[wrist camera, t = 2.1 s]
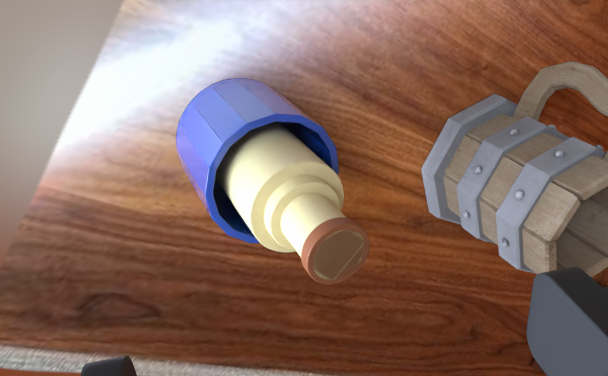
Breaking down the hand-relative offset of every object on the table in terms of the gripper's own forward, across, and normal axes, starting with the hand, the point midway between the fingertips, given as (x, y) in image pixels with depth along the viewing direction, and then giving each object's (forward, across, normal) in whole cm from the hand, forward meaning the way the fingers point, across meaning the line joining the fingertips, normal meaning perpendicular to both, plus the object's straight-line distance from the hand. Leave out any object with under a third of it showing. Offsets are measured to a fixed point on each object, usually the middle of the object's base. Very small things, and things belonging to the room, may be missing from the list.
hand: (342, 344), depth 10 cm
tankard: (+37, -24, +14) cm, 46 cm away
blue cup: (+30, +1, +8) cm, 31 cm away
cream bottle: (+30, +1, +8) cm, 31 cm away
